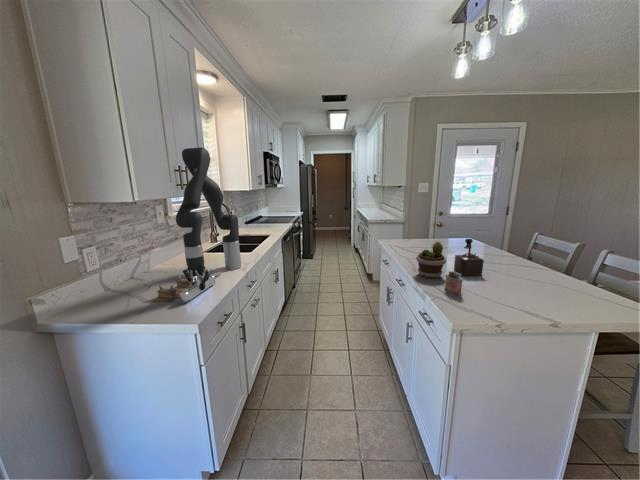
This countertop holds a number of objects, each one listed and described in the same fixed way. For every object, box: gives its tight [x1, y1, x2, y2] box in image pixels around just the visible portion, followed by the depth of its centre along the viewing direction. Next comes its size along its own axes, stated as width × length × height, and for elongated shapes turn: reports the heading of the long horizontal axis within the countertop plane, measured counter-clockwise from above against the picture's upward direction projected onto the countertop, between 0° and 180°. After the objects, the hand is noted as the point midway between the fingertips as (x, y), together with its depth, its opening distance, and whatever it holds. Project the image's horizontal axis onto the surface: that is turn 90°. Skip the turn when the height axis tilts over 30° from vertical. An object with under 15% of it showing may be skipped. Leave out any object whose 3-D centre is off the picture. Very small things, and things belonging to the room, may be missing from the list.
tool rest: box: [153, 275, 192, 303], centre depth 122 cm, size 19×8×6 cm, turn 170°
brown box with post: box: [453, 238, 485, 278], centre depth 141 cm, size 16×11×18 cm
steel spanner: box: [179, 274, 216, 303], centre depth 120 cm, size 23×3×4 cm, turn 170°
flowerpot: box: [415, 239, 447, 280], centre depth 136 cm, size 14×15×20 cm
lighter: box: [443, 270, 464, 297], centre depth 115 cm, size 8×3×10 cm, turn 23°
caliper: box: [204, 271, 223, 278], centre depth 138 cm, size 20×1×6 cm, turn 179°
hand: (199, 289), depth 120 cm, fingers closed on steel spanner, 3 cm apart
